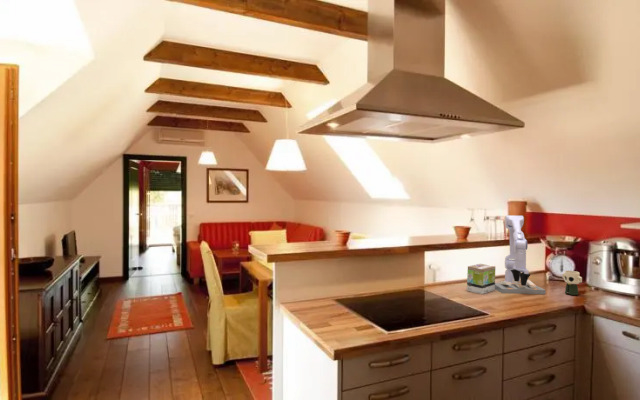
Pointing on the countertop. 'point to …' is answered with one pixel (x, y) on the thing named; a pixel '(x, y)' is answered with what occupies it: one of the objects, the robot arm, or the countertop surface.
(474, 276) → the tea box
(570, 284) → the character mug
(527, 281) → the rocker
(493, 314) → the countertop surface
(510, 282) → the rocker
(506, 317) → the countertop surface
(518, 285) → the rocker
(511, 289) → the panel
